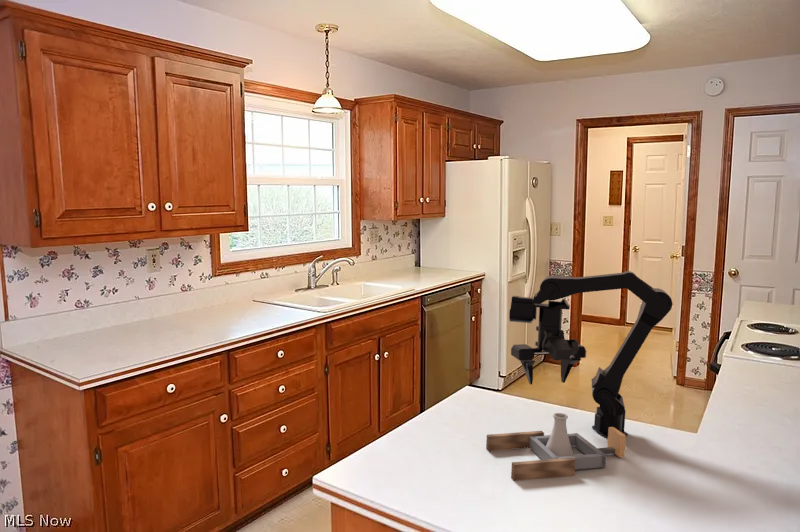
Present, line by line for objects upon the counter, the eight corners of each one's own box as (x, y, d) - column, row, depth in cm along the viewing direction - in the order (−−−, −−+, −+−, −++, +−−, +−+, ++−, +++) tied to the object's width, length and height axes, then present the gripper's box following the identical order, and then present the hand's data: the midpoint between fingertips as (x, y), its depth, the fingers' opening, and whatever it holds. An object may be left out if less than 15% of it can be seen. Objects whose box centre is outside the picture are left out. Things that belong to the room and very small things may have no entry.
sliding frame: (603, 441, 141) (604, 420, 140) (634, 464, 129) (635, 441, 128) (529, 447, 137) (530, 426, 136) (554, 471, 125) (555, 448, 124)
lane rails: (540, 444, 139) (541, 430, 139) (574, 475, 124) (575, 459, 124) (486, 448, 136) (486, 434, 136) (513, 480, 121) (514, 464, 121)
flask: (542, 462, 130) (545, 419, 129) (541, 449, 137) (543, 408, 136) (576, 465, 129) (578, 422, 128) (572, 452, 136) (575, 411, 135)
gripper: (529, 332, 140) (527, 395, 141) (599, 330, 144) (595, 391, 145) (511, 323, 150) (508, 381, 152) (576, 321, 155) (573, 378, 156)
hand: (546, 383), depth 151 cm, fingers open, 9 cm apart
